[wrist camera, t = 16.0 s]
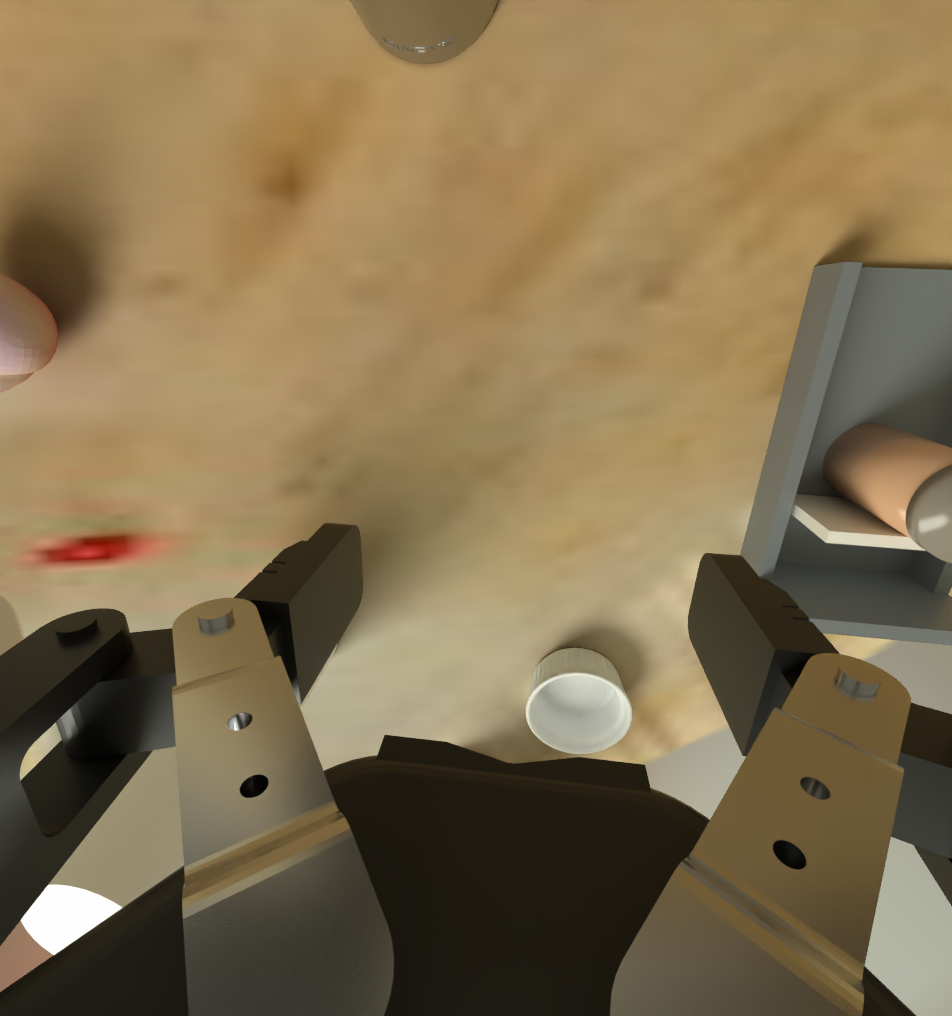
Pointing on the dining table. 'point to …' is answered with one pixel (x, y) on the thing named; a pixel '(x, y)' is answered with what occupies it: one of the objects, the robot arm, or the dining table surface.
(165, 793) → the cylindrical container
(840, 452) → the jar
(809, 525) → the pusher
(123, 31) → the dining table surface
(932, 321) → the lane
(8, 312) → the decorative fruit
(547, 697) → the ramekin
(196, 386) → the dining table surface
